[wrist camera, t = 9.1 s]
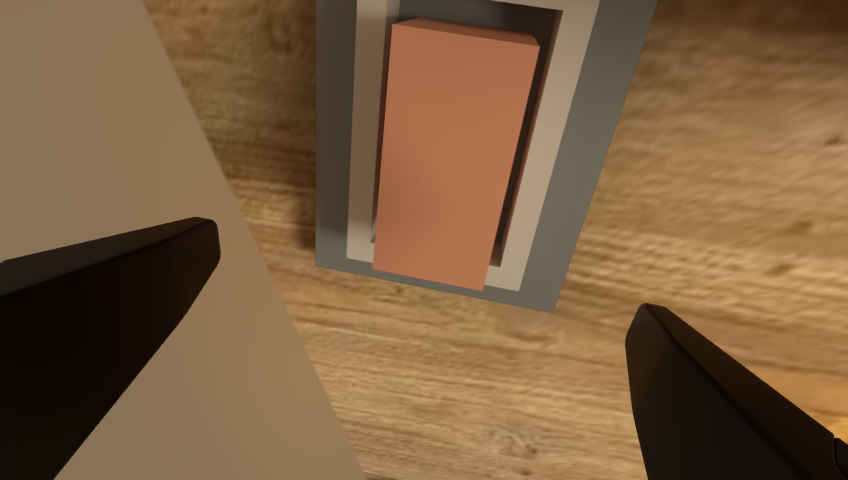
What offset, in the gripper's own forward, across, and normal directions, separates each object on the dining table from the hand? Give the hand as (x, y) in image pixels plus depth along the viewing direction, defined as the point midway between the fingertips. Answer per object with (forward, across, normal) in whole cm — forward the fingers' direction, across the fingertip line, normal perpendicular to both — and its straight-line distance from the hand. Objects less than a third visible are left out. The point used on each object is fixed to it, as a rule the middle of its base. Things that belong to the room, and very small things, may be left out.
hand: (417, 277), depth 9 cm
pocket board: (+12, 0, 0) cm, 12 cm away
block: (+10, 0, 0) cm, 10 cm away
